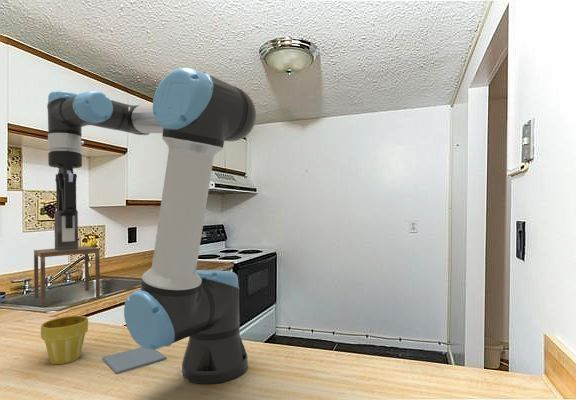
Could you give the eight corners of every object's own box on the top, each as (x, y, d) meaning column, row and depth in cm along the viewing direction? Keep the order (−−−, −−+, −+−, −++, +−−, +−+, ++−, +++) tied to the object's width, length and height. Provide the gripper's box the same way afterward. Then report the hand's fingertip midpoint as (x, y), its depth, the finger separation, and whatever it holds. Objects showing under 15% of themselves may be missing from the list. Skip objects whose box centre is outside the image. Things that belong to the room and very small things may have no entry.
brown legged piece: (100, 297, 93) (98, 209, 94) (41, 306, 85) (40, 210, 86) (88, 290, 103) (87, 211, 104) (34, 298, 95) (33, 212, 95)
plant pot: (72, 367, 88) (72, 327, 89) (31, 368, 88) (30, 327, 89) (96, 351, 99) (95, 314, 99) (58, 351, 99) (58, 315, 99)
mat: (166, 359, 92) (166, 357, 92) (116, 374, 84) (116, 371, 84) (149, 346, 101) (149, 344, 101) (102, 359, 93) (102, 357, 93)
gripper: (89, 148, 91) (90, 241, 90) (74, 157, 104) (75, 238, 104) (54, 145, 86) (55, 243, 85) (43, 155, 99) (44, 240, 99)
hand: (66, 240), depth 94 cm, fingers closed on brown legged piece, 4 cm apart
